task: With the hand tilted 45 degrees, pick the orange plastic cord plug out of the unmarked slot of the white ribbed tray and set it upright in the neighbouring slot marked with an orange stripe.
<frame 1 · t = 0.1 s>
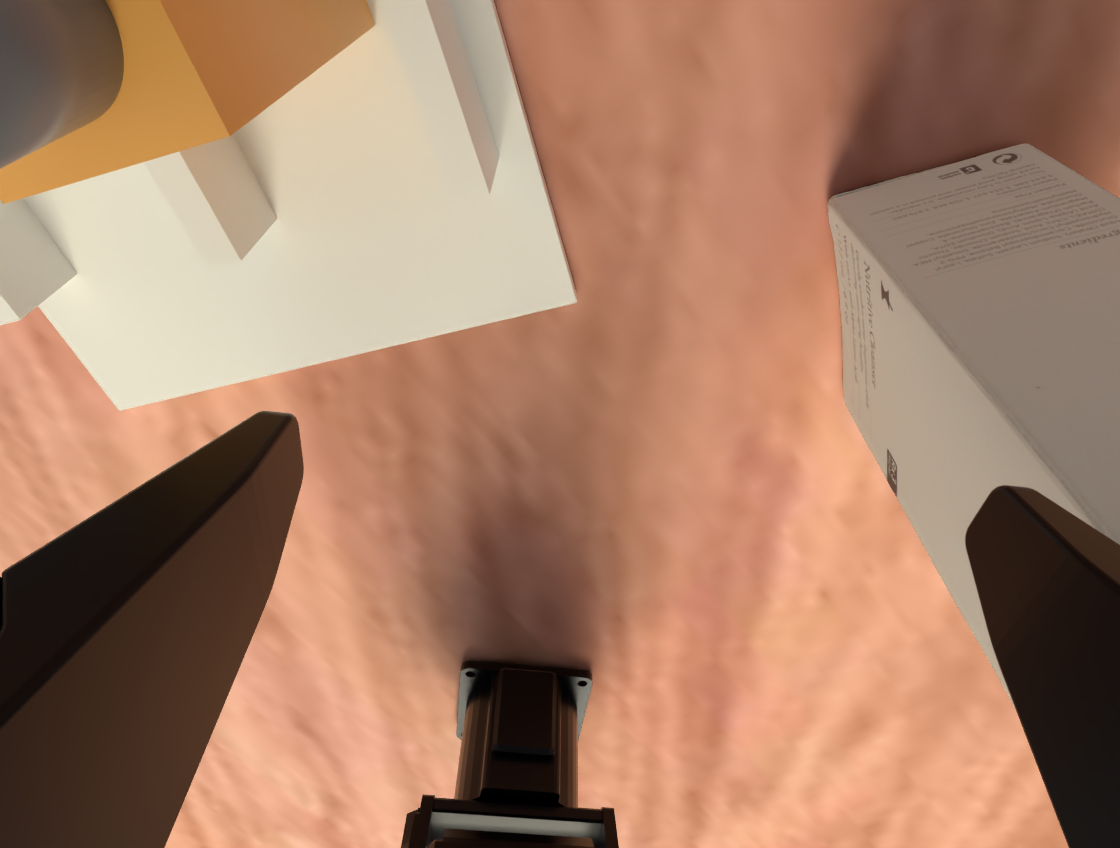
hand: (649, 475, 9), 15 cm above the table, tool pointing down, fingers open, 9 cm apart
skincare box: (926, 285, 24), on the table
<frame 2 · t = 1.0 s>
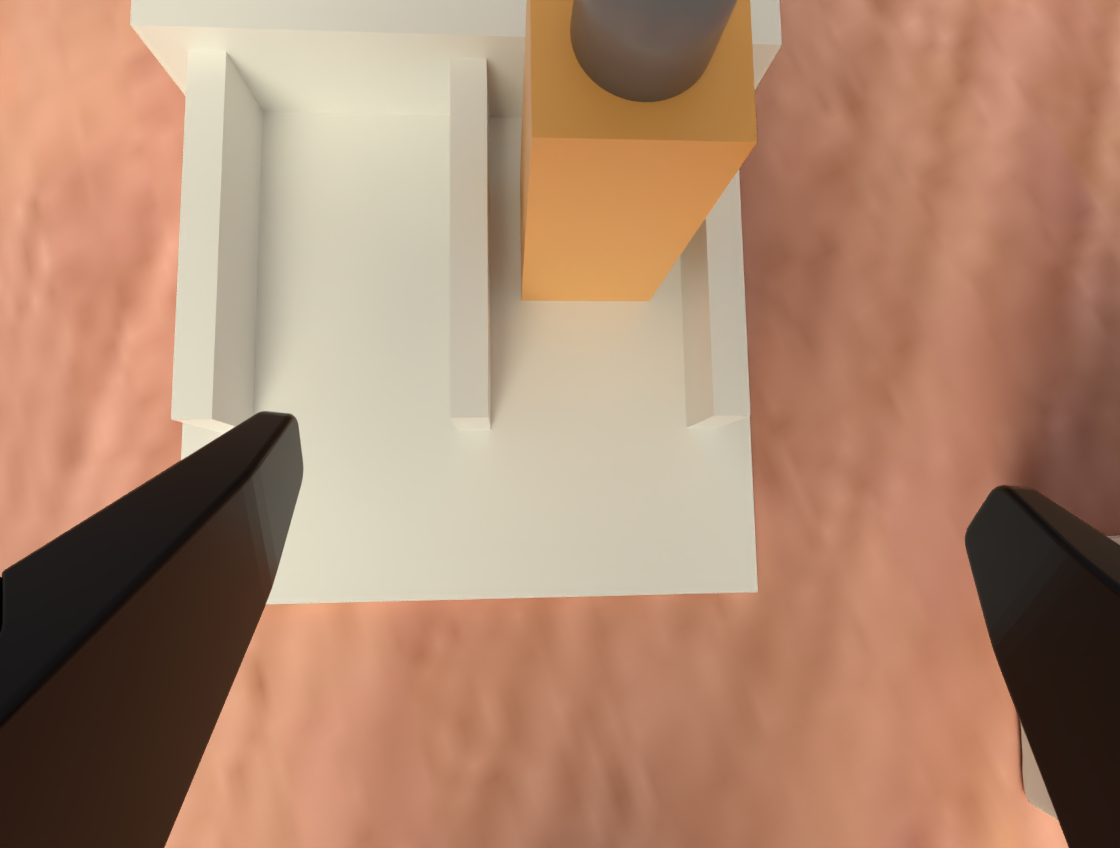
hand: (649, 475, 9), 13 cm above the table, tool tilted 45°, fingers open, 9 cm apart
orange plug: (584, 238, 23), point 1 cm above the table, touching white ribbed tray
skincare box: (1091, 668, 23), on the table
white ribbed tray: (474, 244, 23), on the table
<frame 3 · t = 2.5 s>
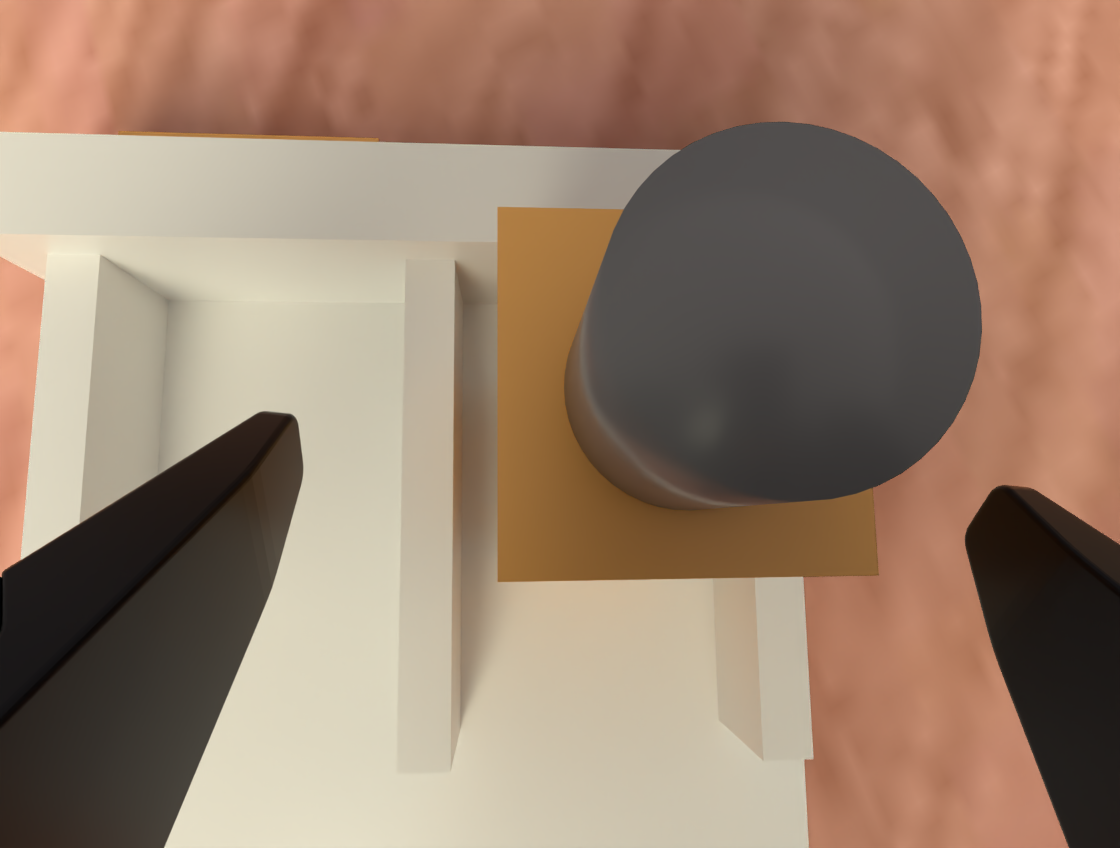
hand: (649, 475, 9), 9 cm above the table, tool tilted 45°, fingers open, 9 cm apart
orange plug: (585, 464, 18), point 1 cm above the table, touching white ribbed tray
white ribbed tray: (443, 467, 18), on the table
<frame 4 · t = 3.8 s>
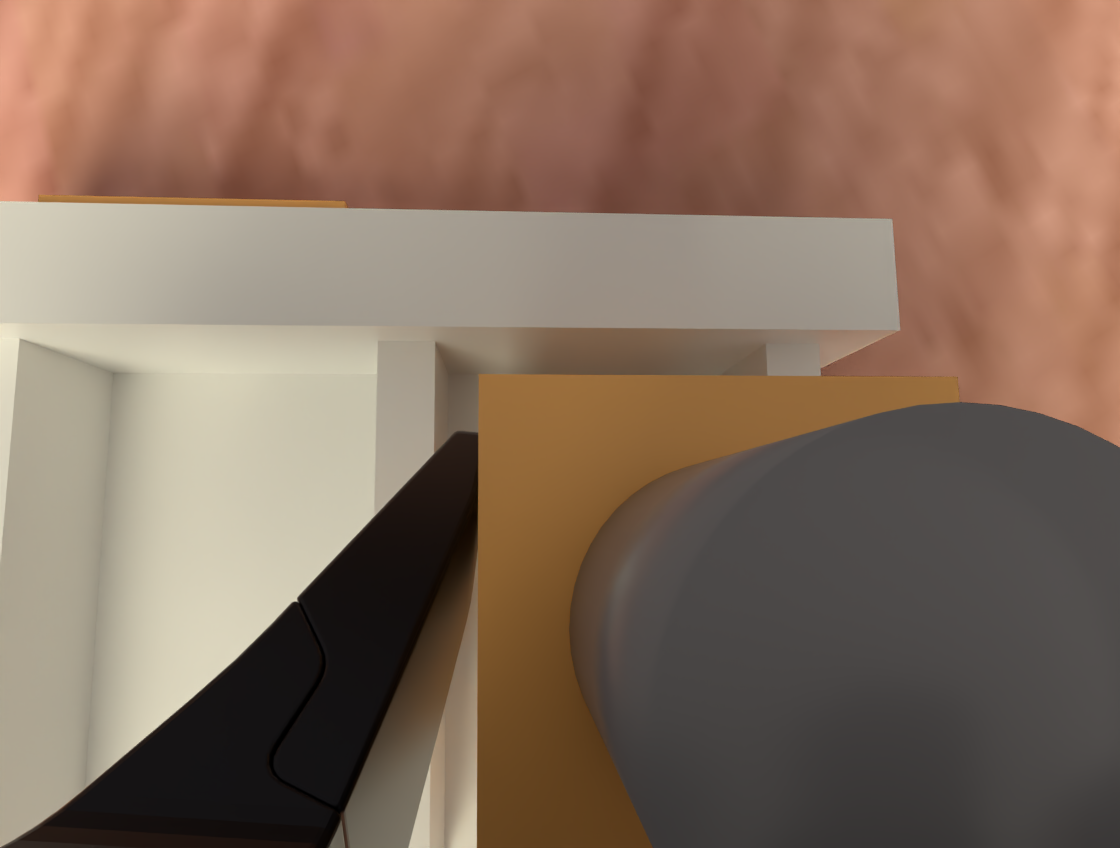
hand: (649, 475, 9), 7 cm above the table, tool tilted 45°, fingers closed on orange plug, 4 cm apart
orange plug: (586, 558, 16), point 1 cm above the table, touching white ribbed tray, gripper
white ribbed tray: (425, 559, 16), on the table
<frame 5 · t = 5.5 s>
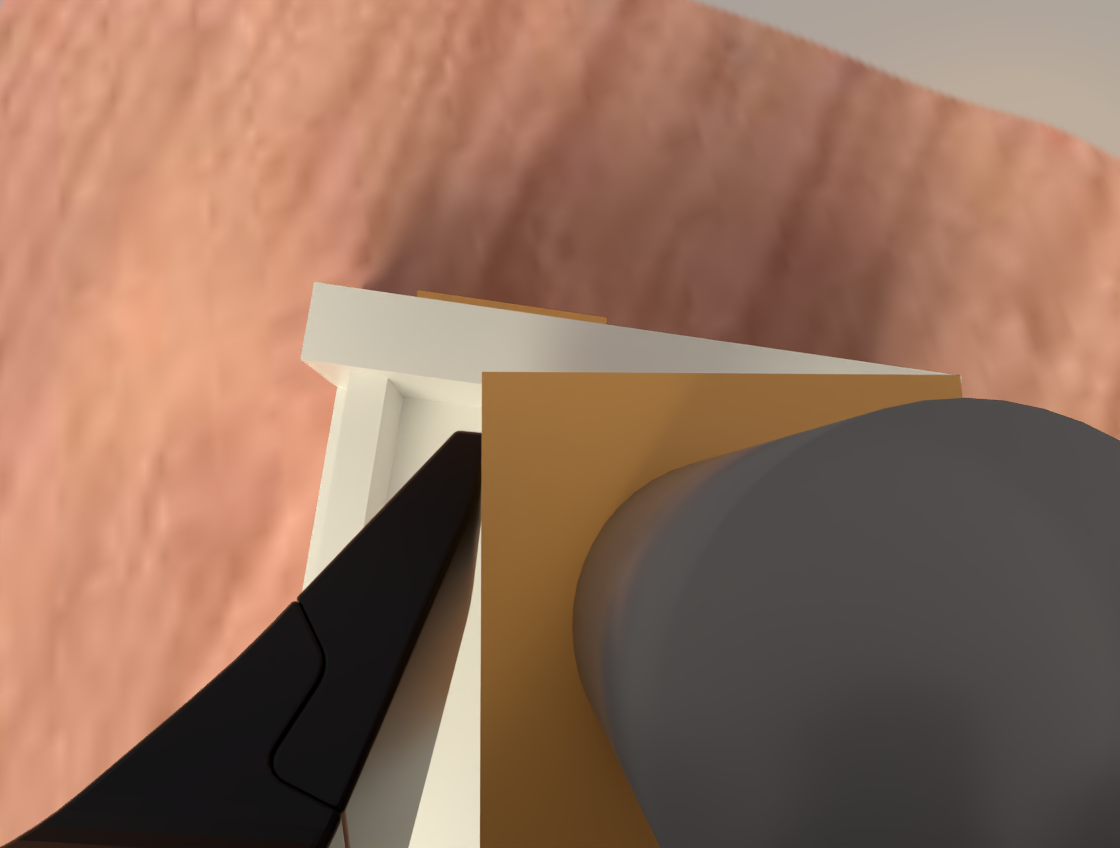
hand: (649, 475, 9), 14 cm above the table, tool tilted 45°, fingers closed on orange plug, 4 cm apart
orange plug: (587, 557, 16), point 7 cm above the table, touching gripper
white ribbed tray: (596, 554, 23), on the table
when the fingers open (8 cm above the table, at t = 7.3 s): orange plug stays where it is, resting on white ribbed tray.
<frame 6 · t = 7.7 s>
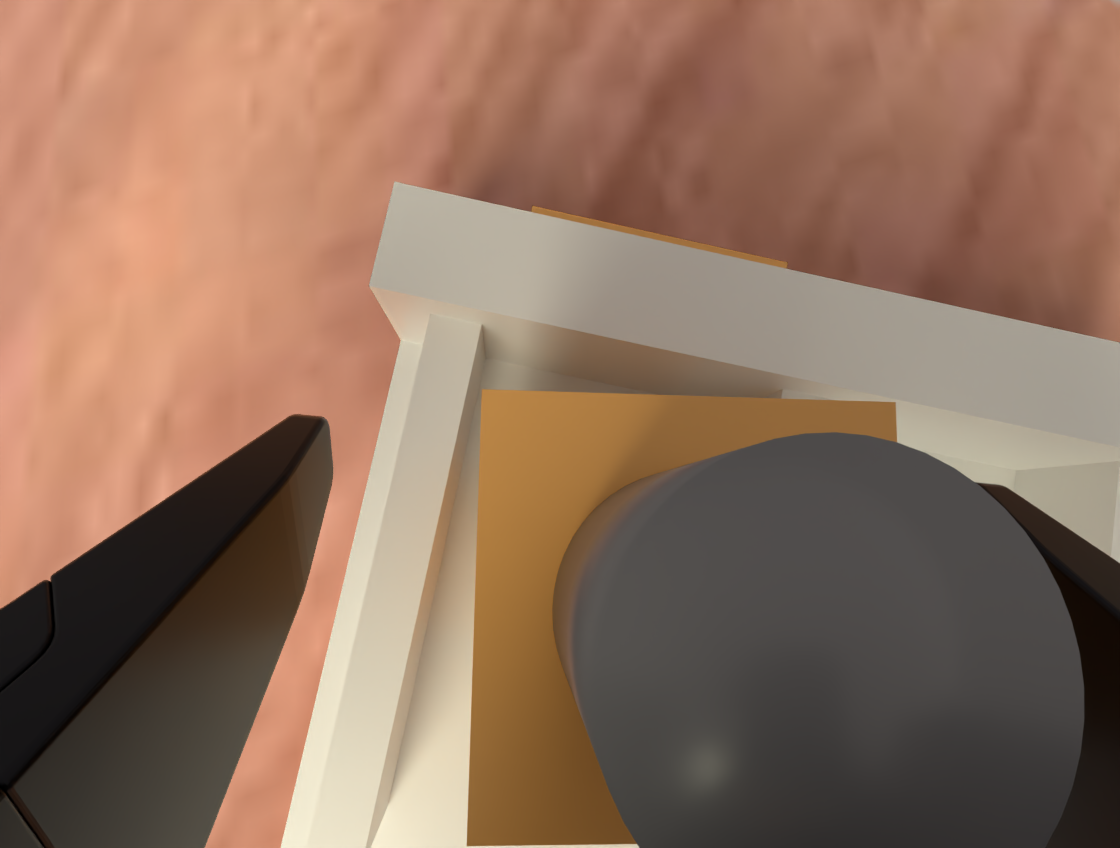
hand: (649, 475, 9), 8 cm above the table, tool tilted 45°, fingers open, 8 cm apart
orange plug: (581, 555, 17), point 1 cm above the table, touching white ribbed tray
white ribbed tray: (720, 582, 17), on the table
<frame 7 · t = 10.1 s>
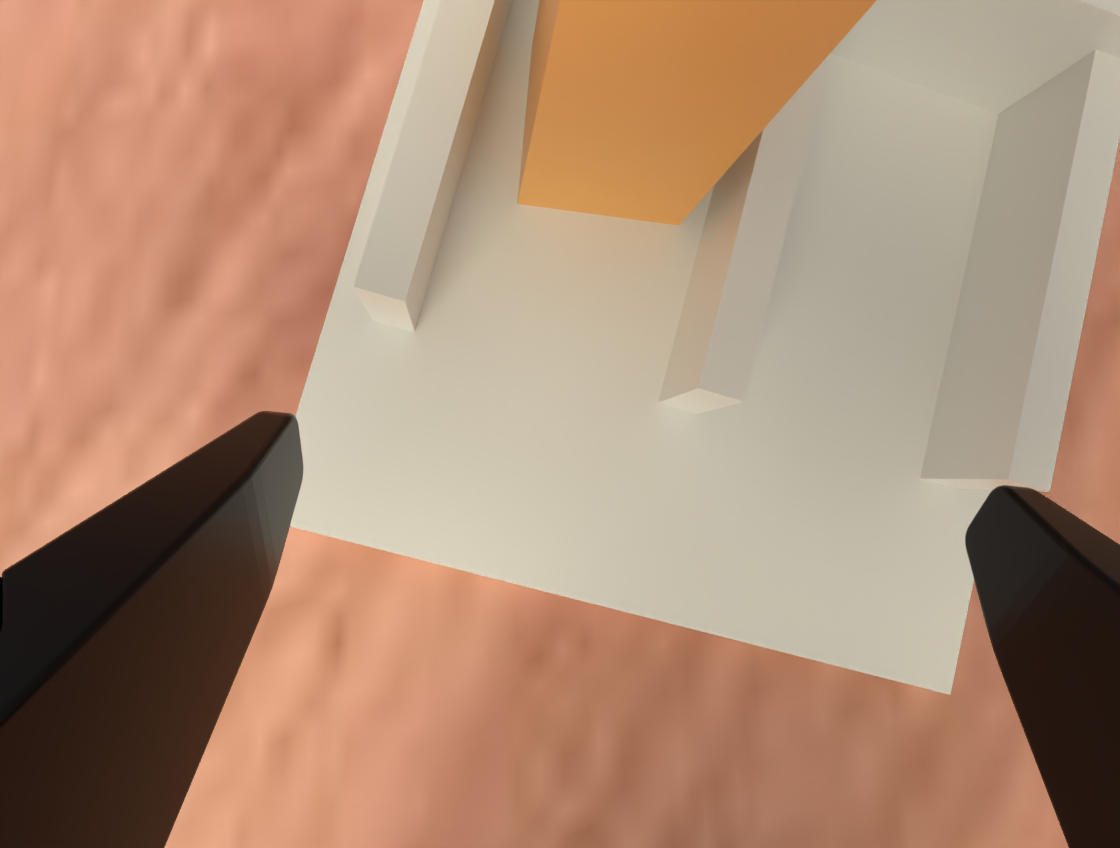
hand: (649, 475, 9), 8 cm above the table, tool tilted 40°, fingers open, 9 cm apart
orange plug: (605, 135, 18), point 1 cm above the table, touching white ribbed tray
white ribbed tray: (727, 187, 19), on the table
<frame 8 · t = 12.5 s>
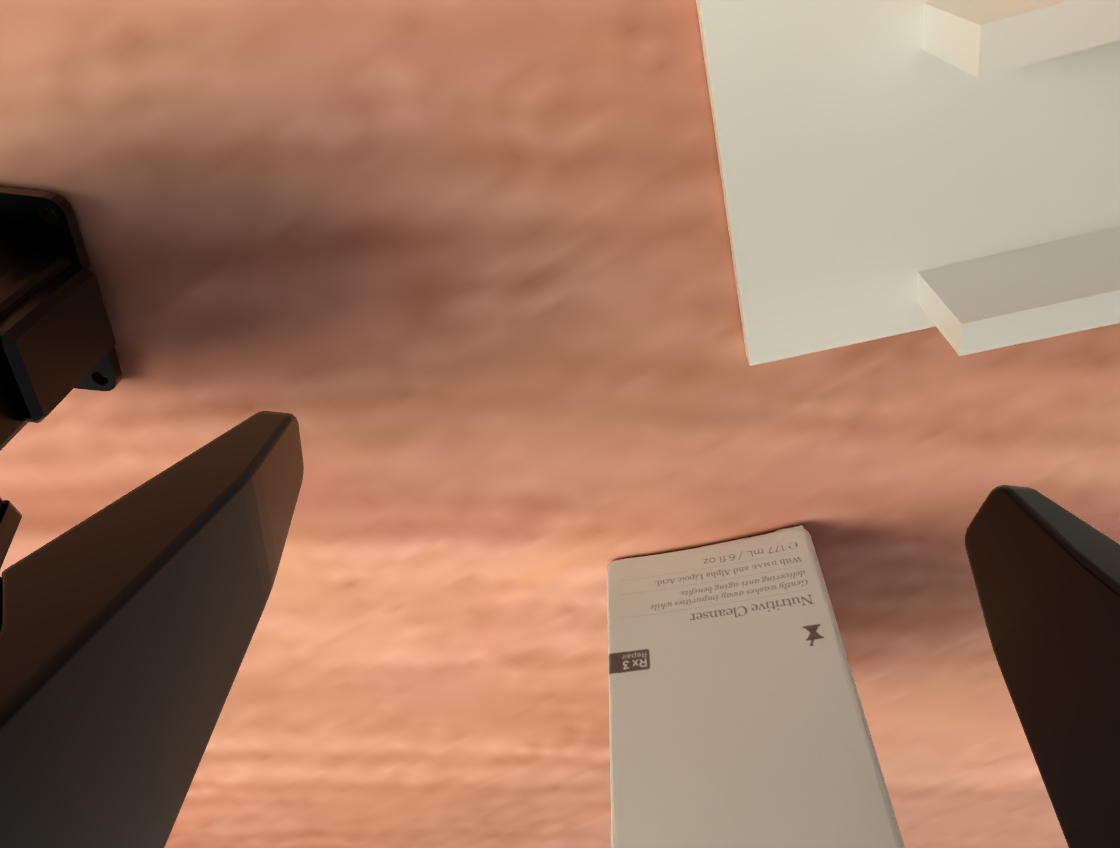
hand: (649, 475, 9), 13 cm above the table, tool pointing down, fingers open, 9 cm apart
skincare box: (710, 585, 31), on the table
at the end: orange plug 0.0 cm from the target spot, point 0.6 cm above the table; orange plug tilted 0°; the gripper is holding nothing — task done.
